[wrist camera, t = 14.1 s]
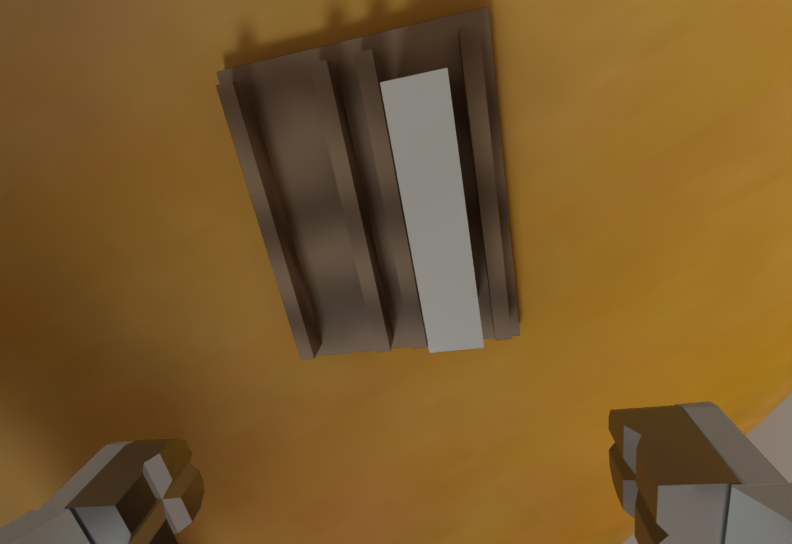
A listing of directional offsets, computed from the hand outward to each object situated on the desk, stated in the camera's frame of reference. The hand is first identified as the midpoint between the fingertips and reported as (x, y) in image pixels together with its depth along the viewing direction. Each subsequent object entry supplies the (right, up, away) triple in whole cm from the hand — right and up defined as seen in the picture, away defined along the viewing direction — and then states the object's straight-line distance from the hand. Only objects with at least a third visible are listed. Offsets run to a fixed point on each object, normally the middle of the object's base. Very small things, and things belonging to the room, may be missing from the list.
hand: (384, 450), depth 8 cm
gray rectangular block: (+3, +8, +18) cm, 20 cm away
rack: (-1, +8, +20) cm, 21 cm away
